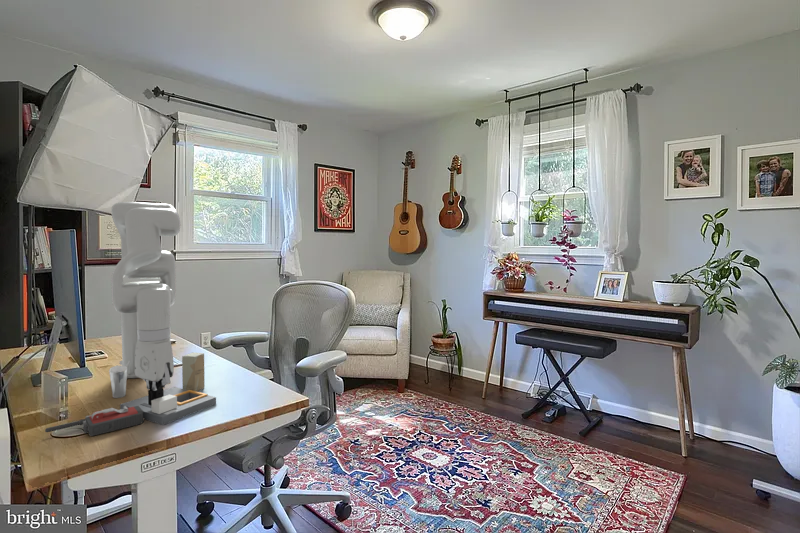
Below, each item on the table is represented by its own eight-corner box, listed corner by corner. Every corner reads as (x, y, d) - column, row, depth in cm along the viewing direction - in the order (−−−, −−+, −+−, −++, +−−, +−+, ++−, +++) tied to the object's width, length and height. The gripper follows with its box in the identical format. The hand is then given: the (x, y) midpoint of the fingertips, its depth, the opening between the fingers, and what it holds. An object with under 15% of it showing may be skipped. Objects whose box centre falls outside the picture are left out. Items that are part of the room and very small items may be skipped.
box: (194, 393, 134) (193, 356, 133) (181, 392, 135) (181, 356, 134) (205, 387, 139) (204, 352, 138) (193, 386, 140) (192, 351, 139)
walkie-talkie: (140, 412, 118) (44, 434, 105) (140, 396, 118) (44, 416, 104) (149, 422, 112) (48, 448, 98) (149, 405, 112) (48, 428, 98)
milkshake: (134, 394, 132) (133, 361, 131) (114, 400, 128) (113, 366, 127) (126, 391, 135) (125, 359, 134) (107, 396, 130) (106, 363, 130)
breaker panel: (120, 411, 119) (120, 402, 119) (174, 393, 133) (174, 385, 133) (162, 425, 111) (162, 415, 111) (216, 404, 125) (215, 395, 125)
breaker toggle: (151, 411, 114) (151, 400, 113) (169, 405, 118) (169, 394, 118) (159, 414, 112) (158, 402, 112) (177, 407, 117) (176, 396, 116)
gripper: (122, 334, 116) (124, 403, 117) (158, 341, 109) (160, 414, 110) (150, 329, 122) (152, 394, 123) (186, 335, 115) (187, 404, 116)
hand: (156, 403), depth 117 cm, fingers closed
